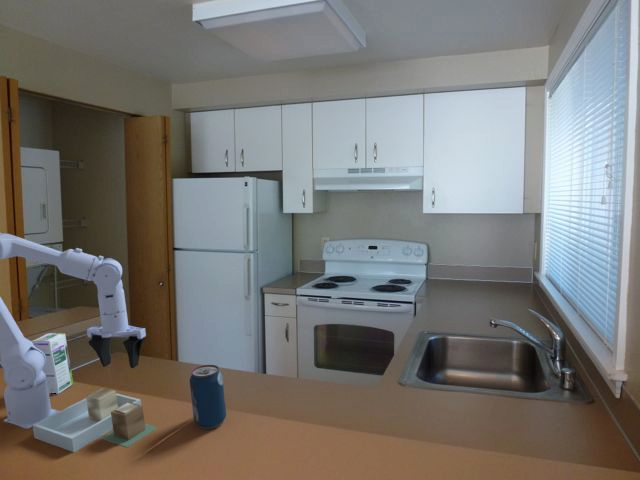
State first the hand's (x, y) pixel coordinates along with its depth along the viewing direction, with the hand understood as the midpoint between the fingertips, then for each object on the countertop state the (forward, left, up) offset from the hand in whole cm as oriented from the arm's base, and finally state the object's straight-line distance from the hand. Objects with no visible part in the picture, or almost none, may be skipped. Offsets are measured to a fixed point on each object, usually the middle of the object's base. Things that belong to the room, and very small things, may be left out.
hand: (120, 365), depth 117 cm
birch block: (+2, -7, -9) cm, 12 cm away
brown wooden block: (+14, -10, -9) cm, 19 cm away
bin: (+2, -11, -9) cm, 15 cm away
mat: (+14, -10, -9) cm, 19 cm away
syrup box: (-24, -2, -10) cm, 26 cm away
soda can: (+26, +1, -10) cm, 28 cm away
